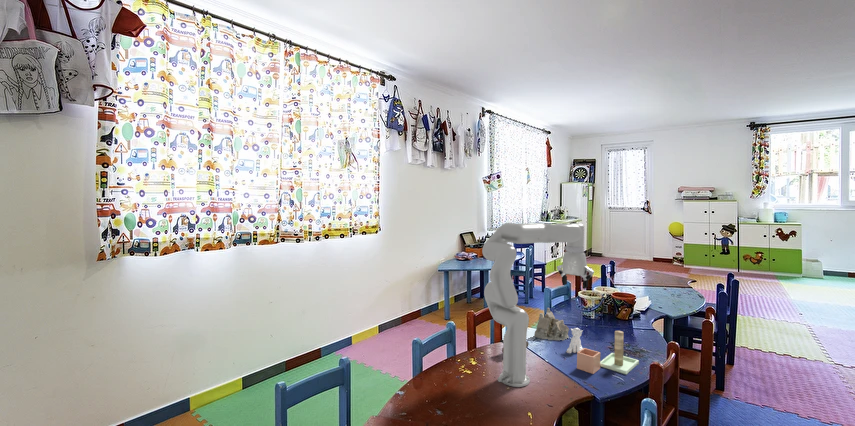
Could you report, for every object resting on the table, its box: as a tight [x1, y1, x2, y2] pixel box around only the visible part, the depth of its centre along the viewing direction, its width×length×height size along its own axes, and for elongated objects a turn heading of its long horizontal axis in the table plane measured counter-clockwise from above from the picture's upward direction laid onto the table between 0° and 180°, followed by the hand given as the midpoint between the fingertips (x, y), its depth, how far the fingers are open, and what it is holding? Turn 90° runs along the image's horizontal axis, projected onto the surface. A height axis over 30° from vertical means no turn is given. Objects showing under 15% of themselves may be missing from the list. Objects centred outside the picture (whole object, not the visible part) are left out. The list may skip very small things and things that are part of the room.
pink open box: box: [576, 347, 601, 375], centre depth 172 cm, size 7×7×8 cm
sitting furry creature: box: [565, 327, 584, 354], centre depth 191 cm, size 10×9×12 cm
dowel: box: [614, 330, 625, 366], centre depth 176 cm, size 4×4×15 cm
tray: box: [600, 352, 640, 376], centre depth 176 cm, size 16×12×2 cm
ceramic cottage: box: [534, 307, 570, 341], centre depth 212 cm, size 16×16×15 cm
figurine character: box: [499, 339, 529, 353], centre depth 191 cm, size 7×8×15 cm
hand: (574, 286), depth 177 cm, fingers open, 9 cm apart
